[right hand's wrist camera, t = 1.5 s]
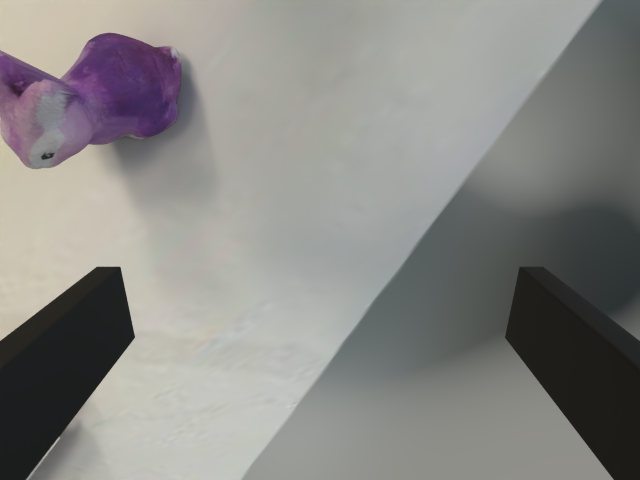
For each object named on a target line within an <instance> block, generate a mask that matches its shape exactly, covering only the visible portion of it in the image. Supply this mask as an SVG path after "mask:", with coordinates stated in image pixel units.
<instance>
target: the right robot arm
mask: <svg viewBox="0 0 640 480" xmlns="http://www.w3.org/2000/svg"><path fill="white" fill-rule="evenodd" d="M134 338H135V336H134V331H133V326H132V321H131V316H130V311H129V306H128V302H127V297H126V292H125V287H124V282H123V277H122V273H121V268H120V267H96V268H95V269H94V270H92V271H91V272H90V273H88V274H87V275H86V276H84V277H83V278H82V279H80V280H79V281H78V282H77V283H75V284H74V285H73V286H71V287H70V288H69V289H67V290H66V291H65V292H64V293H62V294H61V295H60V296H58V297H57V298H56V299H54V300H53V301H52V302H51V303H49V304H48V305H47V306H45V307H44V308H43V309H41V310H40V311H39V312H38V313H36V314H35V315H34V316H32V317H31V318H30V319H28V320H27V321H26V322H24V323H23V324H22V325H21V326H19V327H18V328H17V329H15V330H14V331H13V332H11V333H10V334H9V335H8V336H6V337H5V338H4V339H2V340H1V341H0V480H26V479H27V478H28V477H29V475H30V474H31V473H32V471H33V470H34V469H35V467H36V466H37V465H38V464H39V462H40V461H41V460H42V458H43V457H44V456H45V454H46V453H47V452H48V450H49V449H50V448H51V447H52V445H53V444H54V443H55V441H56V440H57V439H58V437H59V436H60V435H61V433H62V432H63V431H64V430H65V428H66V427H67V426H68V424H69V423H70V422H71V420H72V419H73V418H74V416H75V415H76V414H77V413H78V411H79V410H80V409H81V407H82V406H83V405H84V403H85V402H86V401H87V399H88V398H89V397H90V396H91V394H92V393H93V392H94V390H95V389H96V388H97V386H98V385H99V384H100V382H101V381H102V380H103V379H104V377H105V376H106V375H107V373H108V372H109V371H110V369H111V368H112V367H113V366H114V364H115V363H116V362H117V360H118V359H119V358H120V356H121V355H122V354H123V352H124V351H125V350H126V349H127V347H128V346H129V345H130V343H131V342H132V341H133V339H134ZM505 338H506V339H507V341H508V342H509V343H510V345H511V346H512V347H513V348H514V350H515V351H516V352H517V354H518V355H519V356H520V358H521V359H522V360H523V362H524V363H525V364H526V366H527V367H528V368H529V369H530V371H531V372H532V373H533V375H534V376H535V377H536V379H537V380H538V381H539V382H540V384H541V385H542V386H543V388H544V389H545V390H546V392H547V393H548V394H549V396H550V397H551V398H552V399H553V401H554V402H555V403H556V405H557V406H558V407H559V409H560V410H561V411H562V413H563V414H564V415H565V416H566V418H567V419H568V420H569V422H570V423H571V424H572V426H573V427H574V428H575V430H576V431H577V432H578V433H579V435H580V436H581V437H582V439H583V440H584V441H585V443H586V444H587V445H588V447H589V448H590V449H591V450H592V452H593V453H594V454H595V456H596V457H597V458H598V460H599V461H600V462H601V464H602V465H603V466H604V467H605V469H606V470H607V471H608V473H609V474H610V475H611V477H612V478H613V479H614V480H640V341H639V340H638V339H636V338H635V337H634V336H632V335H631V334H630V333H629V332H627V331H626V330H625V329H623V328H622V327H621V326H619V325H618V324H617V323H615V322H614V321H613V320H612V319H610V318H609V317H608V316H606V315H605V314H604V313H602V312H601V311H600V310H599V309H597V308H596V307H595V306H593V305H592V304H591V303H589V302H588V301H587V300H586V299H584V298H583V297H582V296H580V295H579V294H578V293H576V292H575V291H574V290H572V289H571V288H570V287H569V286H567V285H566V284H565V283H563V282H562V281H561V280H559V279H558V278H557V277H556V276H554V275H553V274H552V273H550V272H549V271H548V270H546V269H545V268H544V267H520V268H519V273H518V277H517V282H516V287H515V292H514V297H513V302H512V306H511V311H510V316H509V321H508V326H507V331H506V336H505Z"/></svg>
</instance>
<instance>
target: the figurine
mask: <svg viewBox="0 0 640 480" xmlns="http://www.w3.org/2000/svg"><path fill="white" fill-rule="evenodd" d="M180 82H181V60H180V56H179V53H178V51H177V49H175V48H174V47H170V46H163V47H153V46H150V45H148V44H146V43H144V42H142V41H139V40H136V39H133V38H130V37H127V36H124V35H120V34H115V33H104V34H100V35H98V36H96V37H94V38H92V39H91V40H89V41H88V42H87V44H86V45H85V47H84V49H83V50H82V52H81V54H80V56H79V58H78V59H77V61H76V62H75V64H74V65H73V66H72V67H71V69H70V70H69V71H68V72H67V73H66V74H65V75H64V76H63V77H62V78H61V79H58V78H56V77H54V76H52V75H49V74H47V73H45V72H43V71H41V70H39V69H37V68H35V67H33V66H31V65H29V64H27V63H25V62H23V61H21V60H19V59H17V58H15V57H13V56H11V55H9V54H6V53H4V52H2V51H0V118H1V119H0V133H1V135H2V138H3V139H4V141H5V143H6V144H7V145H8V146H9V147H10V148H11V149H12V150H13V151H14V152H15V153H16V155H17V156H18V157H19V158H20V160H21V161H22V162H23V164H24V165H25V166H26V167H29V168H32V169H40V168H51V167H55V166H57V165H59V164H60V163H62V162H63V161H64V160H66V159H68V158H69V157H71V156H73V155H75V154H77V153H79V152H80V151H81V150H82V149H84V148H85V147H86V146H87V145H88V144H93V145H100V144H107V143H110V142H113V141H114V140H116V139H118V138H121V137H125V136H129V137H131V138H134V139H140V140H142V139H145V138H148V137H151V136H154V135H156V134H158V133H160V132H162V131H163V130H165V129H167V128H168V127H170V126H171V125H172V124H173V123H174V122H175V120H176V119H177V117H178V107H177V103H176V100H177V97H178V94H179V91H180Z"/></svg>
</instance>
